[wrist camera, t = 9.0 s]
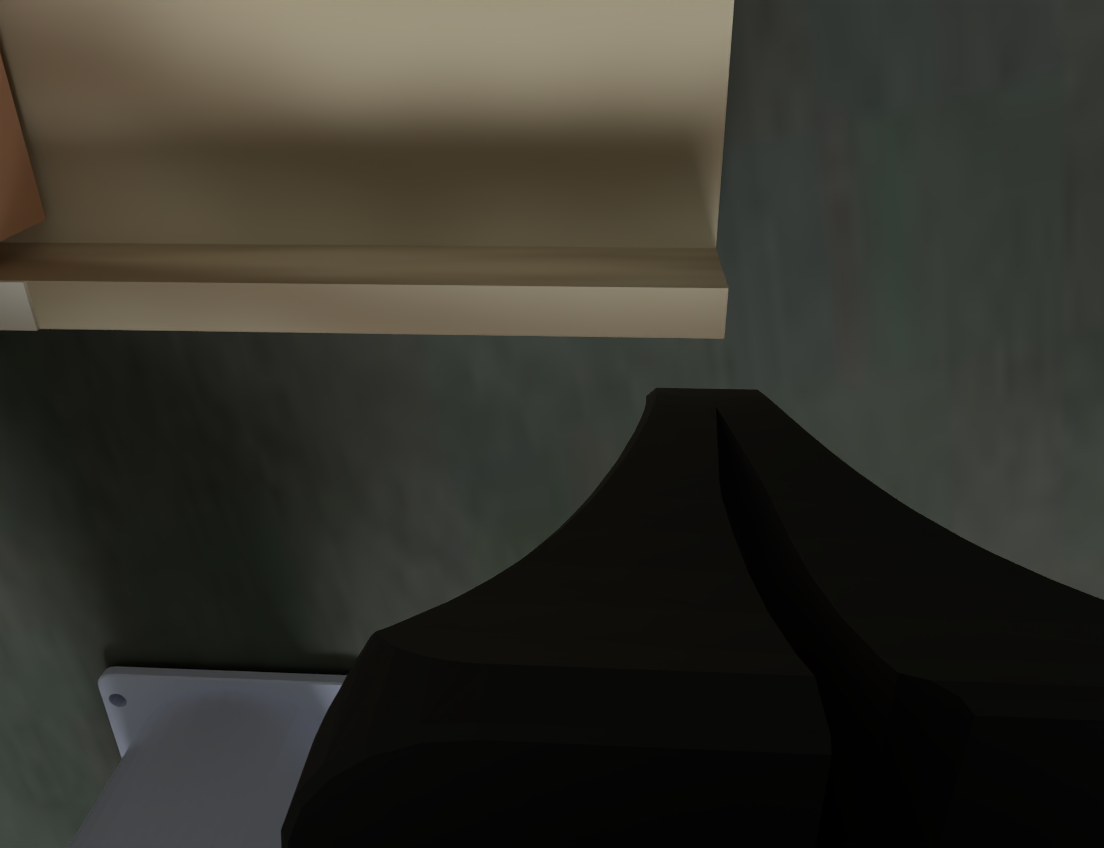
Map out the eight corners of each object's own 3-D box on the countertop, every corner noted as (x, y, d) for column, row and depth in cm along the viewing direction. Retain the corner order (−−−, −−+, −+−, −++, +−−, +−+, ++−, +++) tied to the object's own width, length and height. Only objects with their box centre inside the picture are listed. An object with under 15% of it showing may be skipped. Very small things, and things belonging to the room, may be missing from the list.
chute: (705, 320, 21) (722, 397, 17) (-432, 305, 23) (-627, 372, 19) (742, -208, 16) (777, -249, 13) (-694, -174, 18) (-1016, -203, 14)
